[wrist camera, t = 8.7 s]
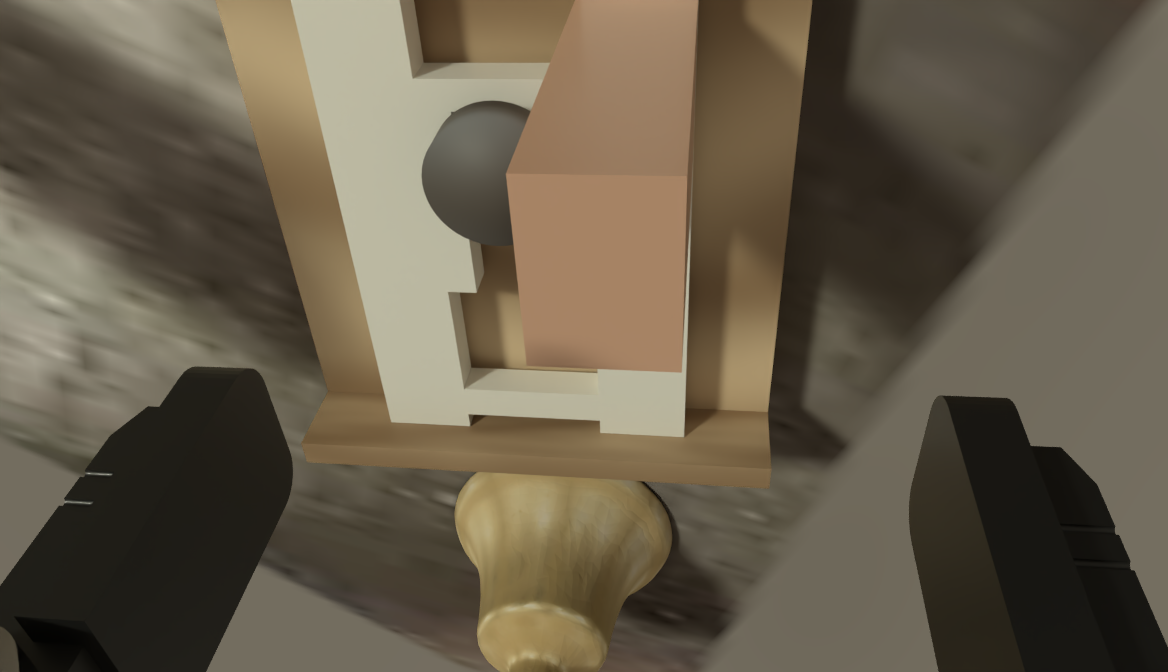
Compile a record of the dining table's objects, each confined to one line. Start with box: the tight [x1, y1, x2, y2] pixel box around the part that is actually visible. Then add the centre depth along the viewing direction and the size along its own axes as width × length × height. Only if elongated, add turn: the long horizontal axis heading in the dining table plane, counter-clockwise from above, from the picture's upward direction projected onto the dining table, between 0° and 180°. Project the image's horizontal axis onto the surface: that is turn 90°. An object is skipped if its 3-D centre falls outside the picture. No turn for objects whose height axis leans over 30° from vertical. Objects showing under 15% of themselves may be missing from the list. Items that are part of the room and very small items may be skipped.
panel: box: [291, 0, 699, 437], centre depth 18 cm, size 21×9×9 cm, turn 2°
